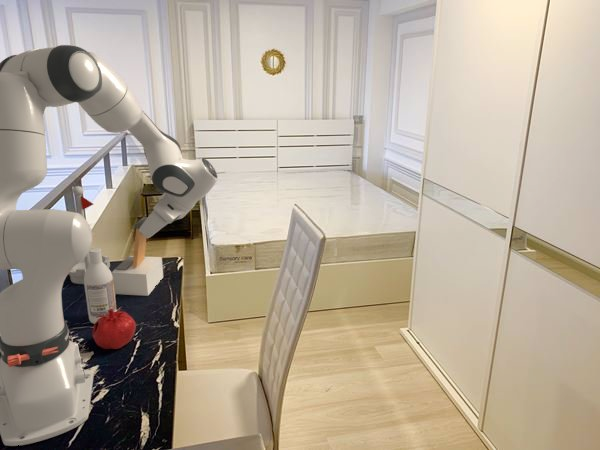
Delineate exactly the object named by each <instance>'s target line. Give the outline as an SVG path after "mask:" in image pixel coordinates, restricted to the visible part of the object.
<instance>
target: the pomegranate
mask: <svg viewBox="0 0 600 450" xmlns="http://www.w3.org/2000/svg"><path fill="white" fill-rule="evenodd" d="M121 310H123V309H122V308H120V309H117V311H116V312H113V309H110V310H108V315H106V316H102V315H99V316H98V317H102V318H99V319H98V320H97V322H96V323H95V324H94V325H93V328H92V333H91V334H92V337H93V340H94V342H95V344H96V345H97V346H98V347H100V348H101V349H104V350H110V349H113V350H119V349H121V348H123V347H124V346H126V345H127V344H129V342H131V341H132V339H133V338H134V335H135V332H136V328H137V323H136V321H135V320H134V318H133V317H132V316H131V315H130V312H129V313H128V312H126V311H121ZM98 317H96V318H98Z"/></svg>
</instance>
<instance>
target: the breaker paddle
mask: <svg viewBox="0 0 600 450" xmlns="http://www.w3.org/2000/svg"><path fill="white" fill-rule="evenodd" d="M147 218H148V217H145V216H144V217H142V218H141V219H139V220H138V221H137V222H135V224H134V229H135V236H134V248H133V256H134V257H133V267H137V266H138V265H139V264H140V263H141V262H142V261H143V260H144V257H146V255H145V254H146V248H147V238H146V237H145V236H144V235H142V234H141V233H140V232H139V229H140V227H141V225H142V224H143V223H144V222H145V220H146V219H147Z"/></svg>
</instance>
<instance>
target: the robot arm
mask: <svg viewBox="0 0 600 450" xmlns="http://www.w3.org/2000/svg"><path fill="white" fill-rule="evenodd" d="M73 103H77V104H78V105H79V107H81V109H82V110H83V111H85V113H86V114H87V115H88V116H89V117H90V118H91V119H92V121H93V122H94V123H96V125H98V126H99V127H100V128H102V129H103V130H105V131H106V132H108V133H113V134H114V133H115V134H117V133H124V132H126V131H128V132H129V133H131V135H132V136H133V137H134V138H135V139H136V140H137V141H138V142H139V143H140V144H141V146H142V147H143V148H142V149H143V152H144V155H145V159H146V161H147V165H148V170H149V175H150V179H151V182H152V184H153V186H154V187H155V188H156V189H157V190H158V191H160V192H163V193H162V195H161V196H159V199H158V201H157V202H156V204H155V205H154V206H153V208H152V209H153V210H152V211H151V213H150V214H149V215H148V217H147V219H146V220H145V222H144V223H143V224H142V225H141V227H140V229H139V232H140V233H141V234H142V235H144V236H145V237H146V239H149V238H151V237H153V236H154V235H155V234H156V233H158V232H159V231H160V230H161V229H163V228H164V227H166V226H167V225H168V224H172V223H174V222H175V221H177V220H181V219H183V218H184V217H186V215H188V214H189V213H190V211H192V210H193V208H194V207H195V206H196V204H197V202H198V201H200V200H202V199H203V198H205V197H206V195H207V194H208V193H209V192H210V191H211V189H213V187H214V186H215V185H216V184H217V181H218V174H217V171H216V169H215V167H214V166H213V164H212V163H210V161H208V160H207V159H206V158H204V157H200V158H198V159H197V158H196V159H187V158H183V155H182V149H181V146H180V144H179V142H178V141H177V140H176V139H175V138H173V137H172V136H170V135H169V134H167V133H165V132H163V131H162V130H161V129H160V128H159V127H158V126H157V124H155V123H154V122H153V121H152V120H151V119H150V117H149V116H148V115H147V114H146V113H145V111H144V110H143V109H142V107H141V105H140V103H139V102H138V100H137V98H136V96H135V95H134V94H133V92H132V90H131V89H130V87H128V85H127V84H126V83H125V82H124V80H123V79H122V78H121V77H120V76H119V74H118V73H117V72H116V71H115V70H114V69H113V68H112V67H111V66H110V65H109V64H108V63H107V62H106V61H105V60H104V59H102V58H101V57H100V56H99V55H97V54H96V53H94V52H91V51H87V50H86V49H84V48H82V47H79V46H76V45H72V44H71V45H69V44H61V45H57V46H54V47H45V48H35V49H30V50H27V51H24V52H22V53H18V54H13V55H10V56H8V57H6V58H4V59H3V60H2V61H1V62H0V271H5V270H18V271H20V272H21V275H22V277H21V278H22V279H21V280H18V281H16V282H14V283H12V284H10V285H9V286H7V287H6V288H4V289H3V290H2V291H1V292H0V355H1V357H0V437H1V441H2V443H3V445H4V446H9V447H16V446H18V445H19V446H25V445H30V444H34V443H37V442H41V441H45V440H48V439H51V438H54V437H57V436H59V435H62V434H64V433H67V432H69V431H71V430H73V429H75V428H77V427H79V426H80V425H81V424H83V423H85V422H86V421H87V420H88V419H89V414H90V407H91V399H92V391H93V385H94V372H93V371H92V370H90V369H84V368H83V367H82V363H83V358H82V356H81V355H80V349H79V348H80V347H79V344H78V343H76V342H74V341H71V340H70V331H69V327H68V324H67V321H65V319H64V312H63V311H64V310H63V299H62V298H63V297H62V290H63V286H64V282H65V280H66V278H67V276H68V273H69V272H70V271H71V269H72V268H73V267H74V266H75V265H77V264H78V263H79V262H81V261H82V260H83V259H84V258H85V257H86V255H87V254H88V252H89V250H90V249H92V245H93V231H92V228H91V225H90V223H89V222H88V220H87V219H86V218H85V216H84V217H83V216H82V215H81V214H79V213H78V212H74V211H68V210H62V209H61V210H60V209H56V208H55V209H51V208H48V209H46V208H45V209H18V210H17V202H18V200H19V198H20V197H21V195H22V194H24V193H25V192H27V191H30V190H32V189H34V188H36V187H37V186H39V185H40V184H41V183H43V181H44V180H45V178H46V176H47V173H48V164H47V163H48V160H47V143H46V142H47V141H46V128H45V126H46V125H45V119H44V113H45V110H46V108H49V107H51V108H57V107H58V108H59V107H62V106H63V107H64V106H66V105H70V104H73ZM19 446H18V447H19Z"/></svg>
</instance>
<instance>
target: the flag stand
mask: <svg viewBox="0 0 600 450" xmlns="http://www.w3.org/2000/svg"><path fill="white" fill-rule="evenodd" d="M72 193H73V194H74V195H75V198H76V205H77V213H79V214H81V215H82V216H83V217H84V218H85V212H84V210H85V209H87V208H89V207H91V206H93V205H94V203H92V202H91V201H89V200H88V199H86V198H85V197H84V196H82V195H83V194H84V189H83V187H82V186H79V185H76V186H74V187H73V189H72ZM102 262H103V263H104V264H105V265H106V266H107V267H108V268H109V269H110V267H111V263H110V258H109V256H108V255H106V254H103V255H102ZM89 264H90V258H89V252H88V254H87V255H86V257H85V258H84V259H83V260H82V261H81V262H79V263H78V264H77V265H75V266H74V267H73V268H72V269H71V271H70V272H69V273H68V275H69V277H70V281H71V282H72V283H73V284H77V285H84V275H85V272H86V270H87V268H88V266H89ZM68 275H67V276H68Z"/></svg>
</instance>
